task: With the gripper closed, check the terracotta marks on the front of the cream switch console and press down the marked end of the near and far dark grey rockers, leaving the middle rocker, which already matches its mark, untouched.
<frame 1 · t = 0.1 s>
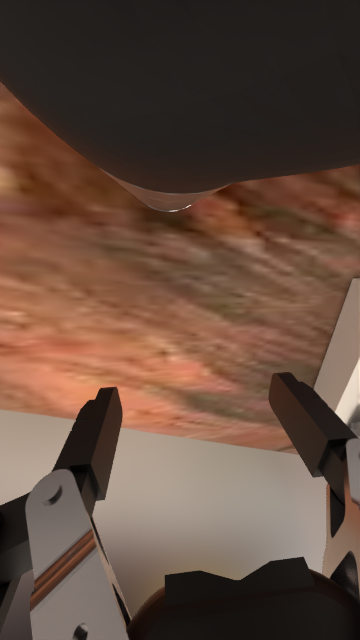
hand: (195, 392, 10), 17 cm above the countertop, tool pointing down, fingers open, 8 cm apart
switch console: (353, 356, 33), on the countertop
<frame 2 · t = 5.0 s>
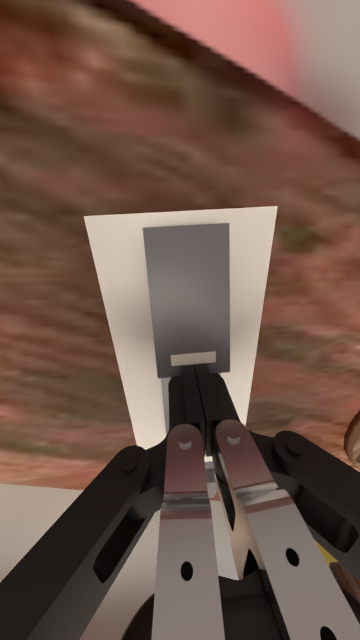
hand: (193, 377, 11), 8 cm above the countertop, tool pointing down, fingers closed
switch console: (184, 361, 21), on the countertop
sauce bottle: (273, 462, 31), on the countertop
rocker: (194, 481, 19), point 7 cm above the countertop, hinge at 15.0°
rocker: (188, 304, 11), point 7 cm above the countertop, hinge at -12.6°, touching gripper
middle rocker: (192, 416, 15), point 7 cm above the countertop, hinge at -15.0°
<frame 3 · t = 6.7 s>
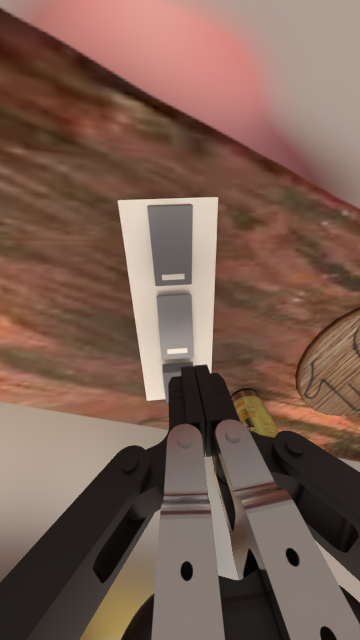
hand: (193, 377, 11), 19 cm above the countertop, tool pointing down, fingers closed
switch console: (173, 306, 30), on the countertop
sauce bottle: (242, 399, 40), on the countertop
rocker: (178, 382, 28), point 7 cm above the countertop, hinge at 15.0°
trivet: (357, 361, 39), on the countertop
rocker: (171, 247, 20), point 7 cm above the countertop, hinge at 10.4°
middle rocker: (175, 326, 24), point 7 cm above the countertop, hinge at -15.0°
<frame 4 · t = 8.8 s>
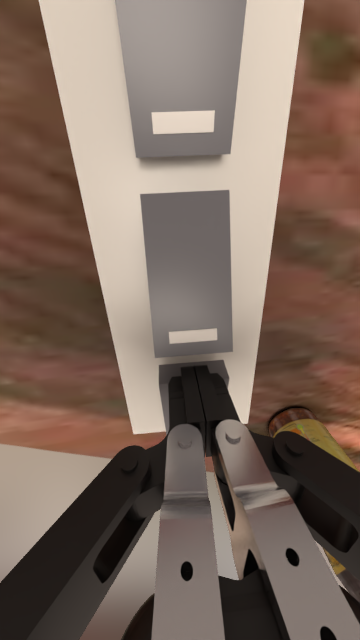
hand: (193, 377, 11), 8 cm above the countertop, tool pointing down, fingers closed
switch console: (179, 260, 16), on the countertop
sauce bottle: (288, 421, 26), on the countertop
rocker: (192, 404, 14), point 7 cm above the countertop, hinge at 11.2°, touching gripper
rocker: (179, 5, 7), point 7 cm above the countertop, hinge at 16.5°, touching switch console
middle rocker: (188, 279, 10), point 7 cm above the countertop, hinge at -15.0°
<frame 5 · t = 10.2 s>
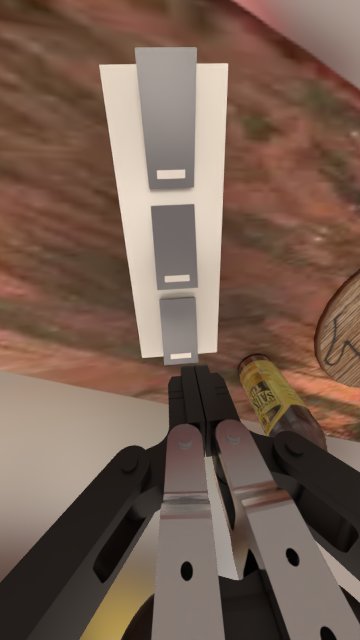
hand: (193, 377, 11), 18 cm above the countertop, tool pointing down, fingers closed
switch console: (172, 244, 26), on the countertop
sauce bottle: (253, 367, 35), on the countertop
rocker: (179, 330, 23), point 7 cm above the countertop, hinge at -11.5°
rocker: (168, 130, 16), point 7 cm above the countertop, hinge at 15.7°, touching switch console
middle rocker: (174, 250, 20), point 7 cm above the countertop, hinge at -15.0°
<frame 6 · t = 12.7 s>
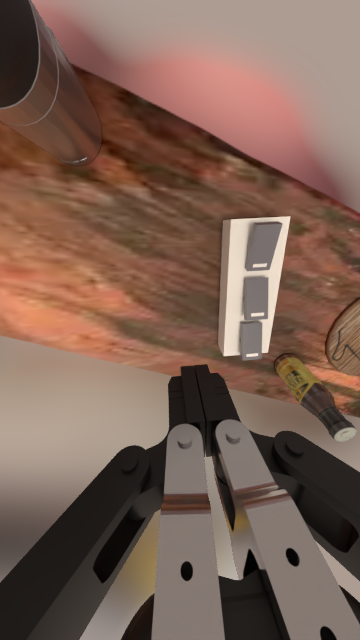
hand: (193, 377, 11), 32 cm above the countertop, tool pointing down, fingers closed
switch console: (242, 289, 43), on the countertop
sauce bottle: (284, 362, 53), on the countertop
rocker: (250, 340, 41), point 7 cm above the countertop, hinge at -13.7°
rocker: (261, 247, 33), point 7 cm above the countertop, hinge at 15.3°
middle rocker: (255, 299, 37), point 7 cm above the countertop, hinge at -15.0°
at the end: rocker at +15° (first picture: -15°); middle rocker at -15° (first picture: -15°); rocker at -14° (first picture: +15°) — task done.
